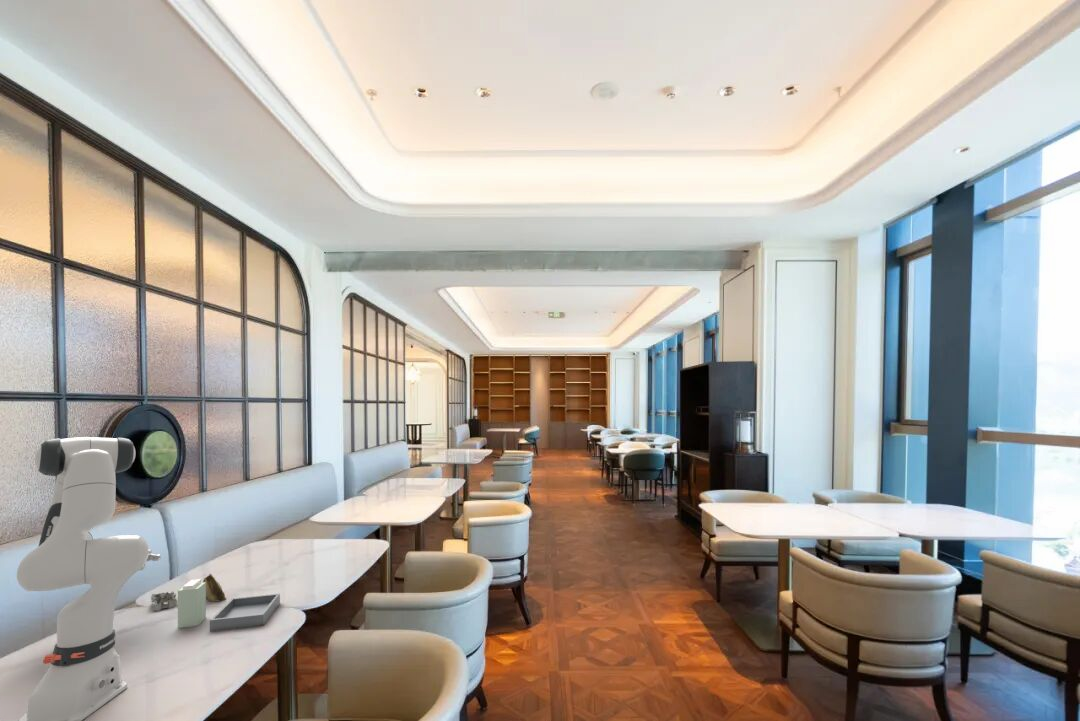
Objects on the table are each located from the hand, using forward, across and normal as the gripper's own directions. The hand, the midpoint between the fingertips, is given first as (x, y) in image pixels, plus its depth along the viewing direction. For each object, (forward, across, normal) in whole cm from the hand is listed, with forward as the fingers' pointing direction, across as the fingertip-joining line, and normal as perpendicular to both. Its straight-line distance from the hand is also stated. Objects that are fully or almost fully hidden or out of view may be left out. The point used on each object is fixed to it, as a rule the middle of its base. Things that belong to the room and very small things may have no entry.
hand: (152, 561), depth 173 cm
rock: (+10, +22, +22) cm, 32 cm away
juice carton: (+12, 0, +21) cm, 24 cm away
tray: (+29, 0, +21) cm, 36 cm away
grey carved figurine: (-6, +20, +22) cm, 30 cm away
